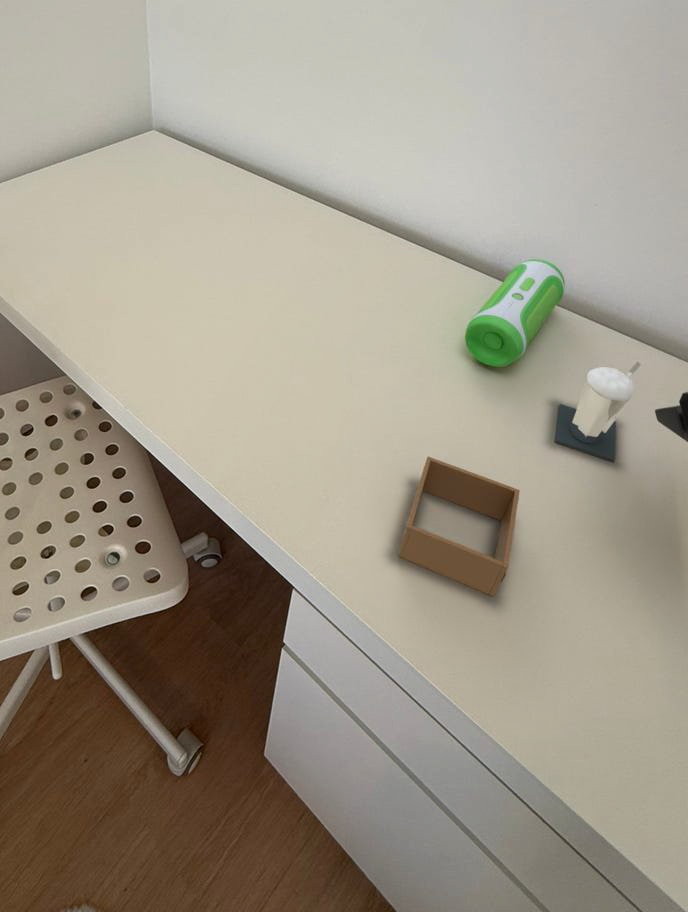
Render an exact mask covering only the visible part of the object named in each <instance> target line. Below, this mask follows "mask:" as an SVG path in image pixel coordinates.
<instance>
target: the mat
mask: <svg viewBox="0 0 688 912" xmlns="http://www.w3.org/2000/svg"><path fill="white" fill-rule="evenodd" d="M557 409H558V410H557V417H556V426H555V427H556V428H555V435H554V443H556V444H559V445H562V446H564V447H568V448H571V449H574V450H576V451H578V452H582V453H584V454H589V455H592V456H595V457H598V458H600V459H603V460H607V461H609V462H611V463H614V462H615V461H616V440H617V439H616V438H617V437H616V435H617V434H616V433H617V421H616V420H615V421H614V422H613V423H612V425H611V426H610V428H609V429H608V430H607V432H606V433H605V435H604V436H603V437H602V439H601V440H600V441H599V442H597V443H594V444H588V443H583V442H581V441H579V440H578V439H576V438H575V437H574V436H573V435H572V433H571V432H570V430H569V429H570V425H571V422H572V419H573V416H574V414H575V411H576V408H574V407H571V406H568V405H565V404H562V403H559V405H558V407H557Z"/></svg>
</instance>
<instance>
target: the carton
mask: <svg viewBox="0 0 688 912" xmlns="http://www.w3.org/2000/svg"><path fill="white" fill-rule="evenodd" d="M520 491H521V490H520V489H518V488H515V487H513V486H510V485H507V484H505V483H502V482H499V481H496V480H494V479H491V478H489V477H485V476H482V475H480V474H477V473H475V472H472V471H468V470H467V469H464V468H461V467H458V466H456V465H452V464H450V463H447V462H444V461H441V460H439V459H436V458H434V457H431V456H426V460H425V463H424V467H423V469H422V473H421V475H420V478H419V482H418V485H417V488H416V492H415V495H414V499H413V502H412V506H411V509H410V512H409V515H408V519H407V523H406V526H405V530H404V532H403V536H402V539H401V542H400V547H399V550H398V553H397V556H398V557H399V558H402V559H404V560H406V561H408V562H411V563H414V564H416V565H418V566H420V567H423V568H425V569H427V570H429V571H432V572H434V573H437V574H439V575H440V576H441V575H442V576H444V577H446V578H449V579H451V580H453V581H456V582H458V583H461V584H462V585H466V586H467V587H470V588H472V589H475V590H476V591H479V592H482V593H484V594H486V595H489V596H491V597H494V596H495V594H496V592H497V589H498V588H499V586H500V584H501V583H503V581H504V579H505V577H506V575H507V570H508V568H509V562H510V557H511V556H510V555H511V550H512V543H513V537H514V530H515V524H516V517H517V510H518V503H519V498H520ZM423 492H424V493H425V492H426V493H427V494H431V495H433V496H435V497H438V498H441V499H443V500H446V501H448V502H451V503H454V504H456V505H459V506H461V507H464V508H466V509H470V510H471V511H474V512H477V513H480V514H483V515H485V516H487V517H490V518H492V519H496V520H498V521H500V527H499V531H498V538H497V542H496V543H497V544H496V549H495V555H494V557H492V556H489V555H487V554H484V553H482V552H479V551H476V550H474V549H472V548H470V547H467V546H465V545H463V544H460V543H458V542H456V541H452V540H451V539H447V538H445V537H443V536H441V535H438V534H436V533H432V532H431V531H427V530H426V529H423V528H420V527H418V526H416V525H413V524H414V521H415V517H416V513H417V511H418V507H419V503H420V499H421V495H422V493H423Z"/></svg>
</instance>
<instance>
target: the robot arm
mask: <svg viewBox="0 0 688 912" xmlns="http://www.w3.org/2000/svg"><path fill="white" fill-rule="evenodd" d="M678 403H679V404H677V405H672V406H666V407H661V408H655V409H654V413H655V417H656V420H657V422H658V423H660V424H661V425H662V426H664V427H665V428H667V429H668V430H669V431H671V432H672V433H673V434H675V435H676V436H678V437H680V438H681V439H682V440H684V441H685V442H687V443H688V391H685V392H682V394H681V396H680V398H679V401H678Z"/></svg>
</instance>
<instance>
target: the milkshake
mask: <svg viewBox="0 0 688 912" xmlns="http://www.w3.org/2000/svg"><path fill="white" fill-rule="evenodd" d="M641 365H642V364H641V363H640V362H639V361H636V363H634V365H633V366H632V367H631V368H630V369H629V370H628V372H626V373H624V372H622V371H620V370H619V369H616V368H613V367H609V366H600V367H596V368H592V369H590V370H589V371H588V373H587V375H586V378H585V381H584V384H583V388H582V390H581V394H580V397H579V400H578V403H577V405H576V408H575V409H576V411H575V414H574V416H573V419H572V422H571V425H570V429H569V430H570V432H571V433H572V435H573V436H574V437H575V438H576V439H578V440H579V441H581V442H583V443H588V444H594V443H597V442H599V441H600V440H601V439H602V437H603V436H604V435H605V433H606V432H607V430H608V429H609V428H610V426H611V425H612V423H613V422H614V421H615V422H616V419H617V418H618V417H619V415H620V414H621V413H622V411H623V410H624V408H625V407H626V406H627V404H628V403H629V402H630V401H631V399H632V398H633V397H634V395H635V393H636V386H635V383H634V382H633V381H632V380H631V377H632V376H633V375H634V373H635V372H636V371H637V370H638V369H639V368H640V367H641Z"/></svg>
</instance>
